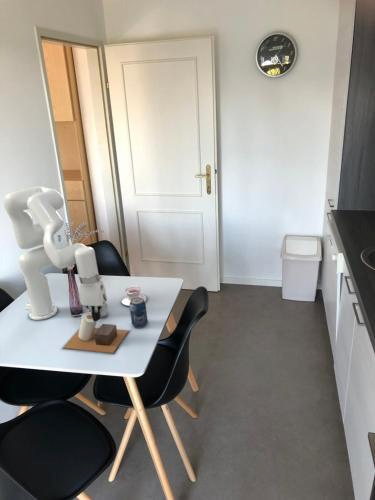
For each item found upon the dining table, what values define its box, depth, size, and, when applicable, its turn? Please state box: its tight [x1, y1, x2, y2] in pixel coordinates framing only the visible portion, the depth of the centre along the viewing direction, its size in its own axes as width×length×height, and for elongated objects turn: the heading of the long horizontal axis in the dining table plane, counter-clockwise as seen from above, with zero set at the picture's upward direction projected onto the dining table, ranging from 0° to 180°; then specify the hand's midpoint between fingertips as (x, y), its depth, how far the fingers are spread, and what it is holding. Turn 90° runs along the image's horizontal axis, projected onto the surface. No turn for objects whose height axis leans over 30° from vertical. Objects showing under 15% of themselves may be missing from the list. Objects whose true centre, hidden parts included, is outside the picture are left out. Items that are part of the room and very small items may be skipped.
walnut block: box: [94, 323, 118, 346], centre depth 172 cm, size 6×8×5 cm
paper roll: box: [78, 312, 97, 341], centre depth 173 cm, size 11×6×12 cm, turn 74°
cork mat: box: [62, 327, 129, 354], centre depth 174 cm, size 22×16×1 cm
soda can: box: [129, 297, 149, 329], centre depth 181 cm, size 7×7×12 cm
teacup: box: [121, 285, 147, 307], centre depth 204 cm, size 12×12×6 cm
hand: (96, 319), depth 170 cm, fingers closed
